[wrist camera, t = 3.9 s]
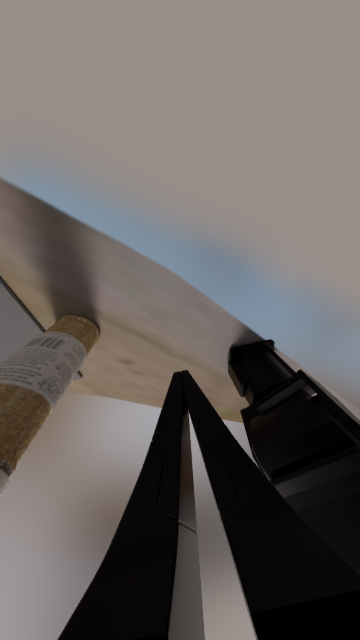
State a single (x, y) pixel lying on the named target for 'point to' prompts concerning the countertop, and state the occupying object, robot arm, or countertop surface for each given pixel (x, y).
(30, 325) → the mat
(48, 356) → the sprinkles bottle
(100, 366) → the countertop surface
